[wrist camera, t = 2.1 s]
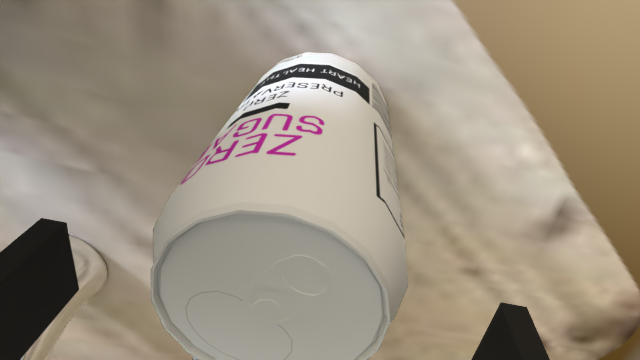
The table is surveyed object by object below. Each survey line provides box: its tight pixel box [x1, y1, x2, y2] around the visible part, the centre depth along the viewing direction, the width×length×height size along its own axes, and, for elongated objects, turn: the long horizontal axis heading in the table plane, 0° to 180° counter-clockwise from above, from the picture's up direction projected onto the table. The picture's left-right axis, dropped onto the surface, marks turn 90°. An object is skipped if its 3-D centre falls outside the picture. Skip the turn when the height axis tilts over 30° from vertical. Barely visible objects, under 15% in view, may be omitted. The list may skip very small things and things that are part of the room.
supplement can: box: [151, 52, 408, 360], centre depth 18 cm, size 8×8×15 cm
